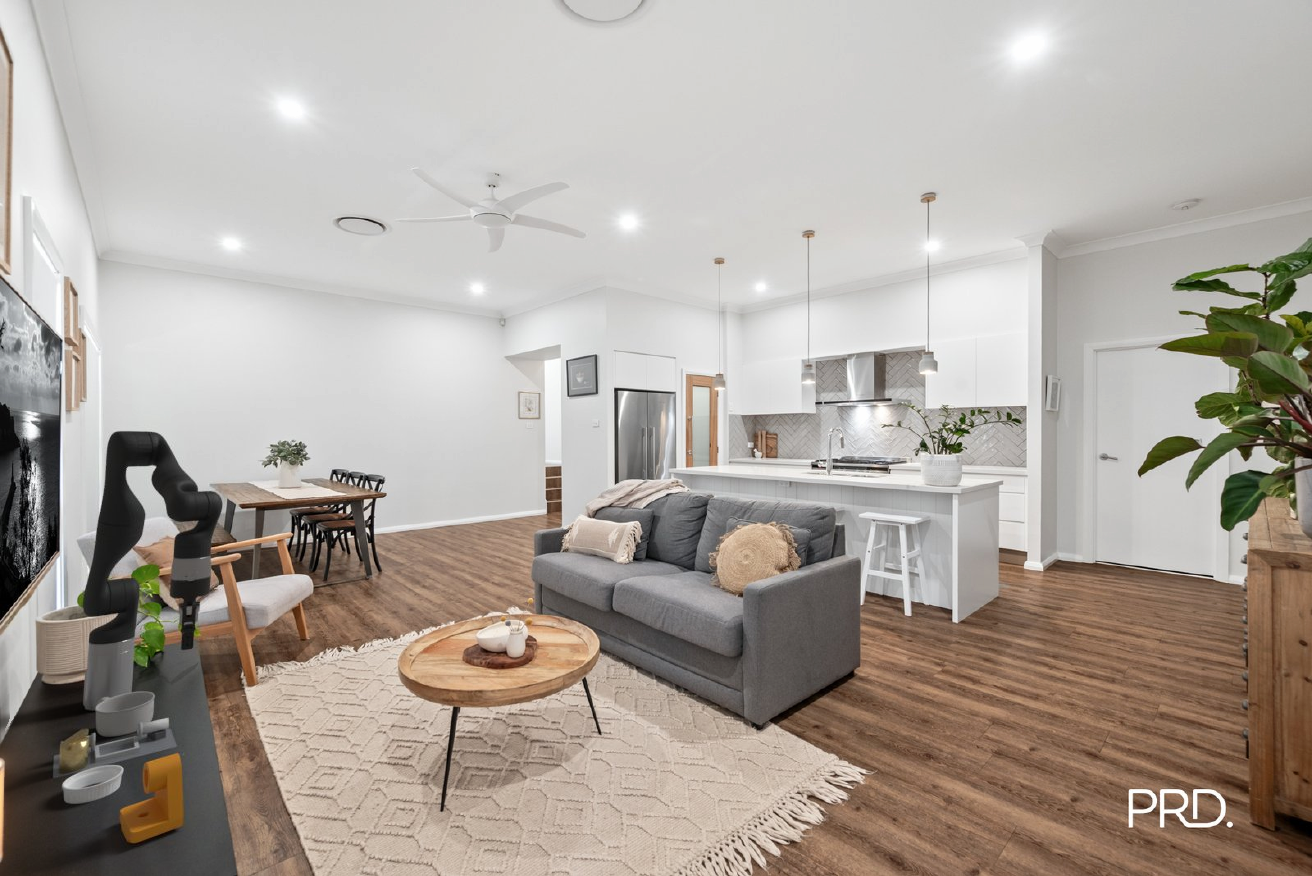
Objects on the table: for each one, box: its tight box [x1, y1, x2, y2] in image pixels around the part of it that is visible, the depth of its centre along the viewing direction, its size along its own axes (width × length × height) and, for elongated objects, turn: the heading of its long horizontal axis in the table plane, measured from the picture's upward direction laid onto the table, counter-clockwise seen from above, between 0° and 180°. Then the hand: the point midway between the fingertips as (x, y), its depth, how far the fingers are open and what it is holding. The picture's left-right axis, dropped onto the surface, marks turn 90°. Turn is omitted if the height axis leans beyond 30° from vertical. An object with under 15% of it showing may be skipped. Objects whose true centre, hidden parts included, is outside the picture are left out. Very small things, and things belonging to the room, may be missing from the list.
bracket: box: [119, 752, 185, 844], centre depth 110 cm, size 11×7×12 cm, turn 51°
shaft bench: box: [52, 717, 178, 779], centre depth 133 cm, size 20×12×6 cm, turn 135°
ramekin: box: [61, 764, 124, 805], centre depth 118 cm, size 9×9×4 cm
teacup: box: [94, 690, 156, 738], centre depth 145 cm, size 14×11×8 cm
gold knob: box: [59, 728, 90, 774], centre depth 126 cm, size 6×4×7 cm
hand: (187, 644), depth 141 cm, fingers open, 8 cm apart
